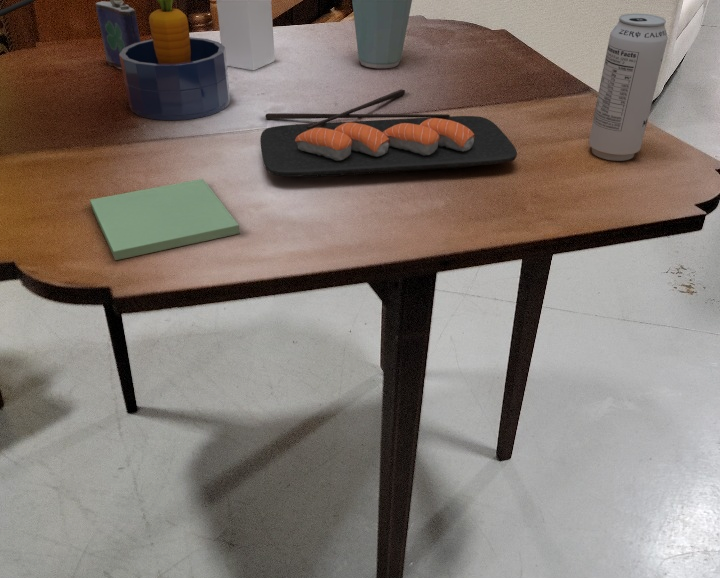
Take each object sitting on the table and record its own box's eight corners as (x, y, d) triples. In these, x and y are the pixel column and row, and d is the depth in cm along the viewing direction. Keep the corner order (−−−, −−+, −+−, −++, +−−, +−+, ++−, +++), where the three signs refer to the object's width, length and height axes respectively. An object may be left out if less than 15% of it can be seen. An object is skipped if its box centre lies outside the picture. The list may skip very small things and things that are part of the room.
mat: (91, 208, 76) (89, 199, 75) (204, 186, 80) (203, 178, 79) (115, 260, 67) (113, 251, 67) (240, 233, 71) (239, 224, 71)
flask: (103, 63, 116) (89, -11, 110) (120, 59, 118) (106, -14, 111) (135, 75, 111) (122, -1, 105) (152, 71, 113) (140, -4, 106)
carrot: (196, 104, 99) (180, -18, 90) (159, 105, 99) (139, -18, 90) (199, 92, 103) (184, -26, 94) (164, 93, 103) (145, -25, 94)
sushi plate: (266, 191, 79) (263, 157, 77) (254, 100, 102) (251, 72, 100) (523, 174, 83) (528, 142, 80) (455, 90, 106) (457, 63, 104)
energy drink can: (648, 160, 86) (683, 24, 77) (600, 164, 85) (630, 26, 76) (623, 141, 91) (653, 11, 82) (578, 145, 90) (603, 13, 81)
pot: (120, 95, 104) (110, 43, 100) (213, 82, 109) (207, 32, 104) (142, 126, 94) (132, 70, 90) (243, 111, 99) (238, 57, 95)
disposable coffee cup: (333, 64, 116) (331, -42, 107) (376, 50, 123) (378, -51, 114) (385, 77, 111) (388, -33, 102) (427, 62, 118) (433, -43, 108)
